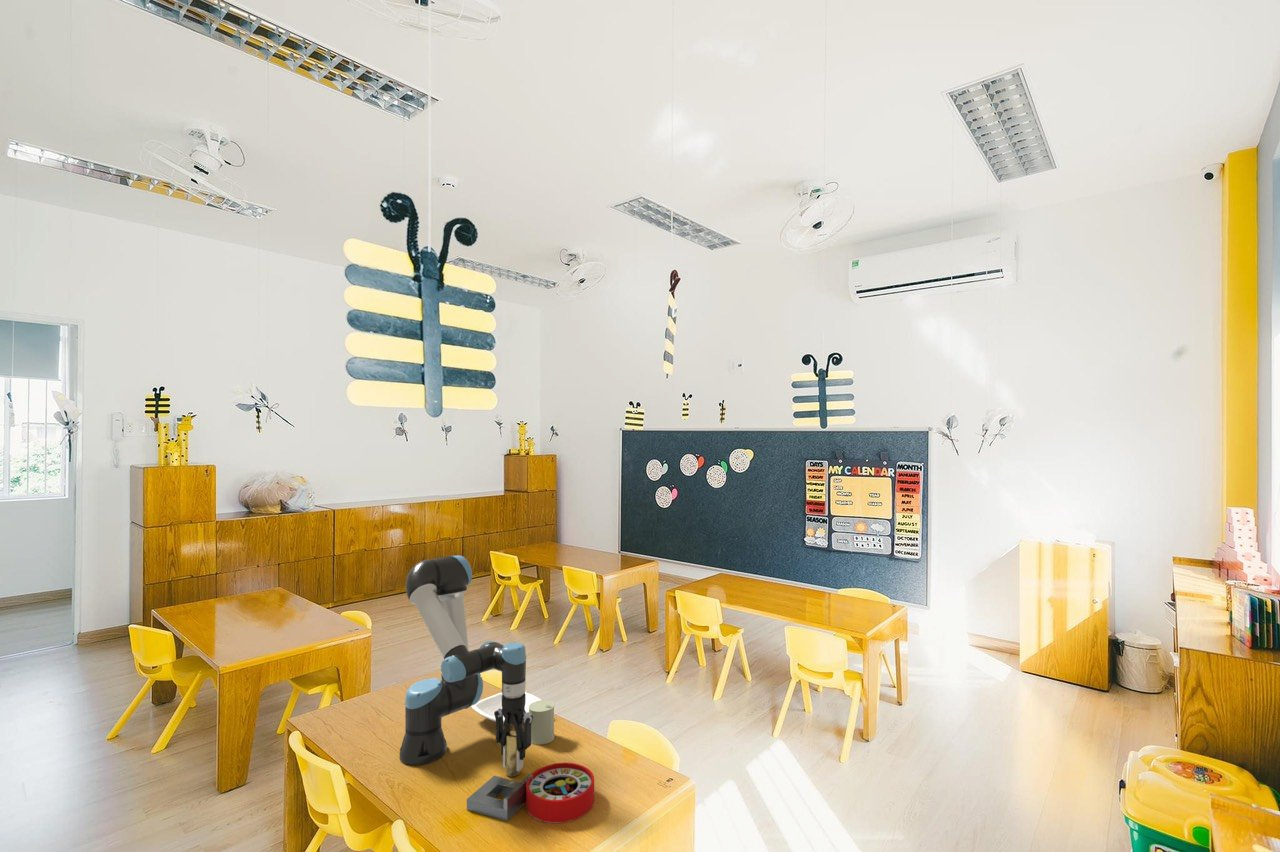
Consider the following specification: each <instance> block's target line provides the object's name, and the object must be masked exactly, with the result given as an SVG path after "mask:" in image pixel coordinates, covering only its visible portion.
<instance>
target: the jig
mask: <svg viewBox="0 0 1280 852" xmlns="http://www.w3.org/2000/svg"><path fill="white" fill-rule="evenodd" d="M531 777H532V780H533V775H531V774H528V775H527V776H526V777H525V778H524V779H523V780H522V781H517V780H513V779H509V778H506V777H501V776H497V775H493V776H492V777H491V778H490V779H488V780H487V781H486V782H485V783H484V784H482V785H481V786H480V787H479V788H478V789H477V790H476V791H474V792H473V793H472V794H471V795H470V796H468V798H466V811H469V812H473V813H477V814H480V815H484V816H487V817H490V818H495V819H496V820H497V819H498V820H500V821H505V822H508V821H509V820H511V818H512V817H513V816H514V815H515V814H516V813H517V812H518V811H519V810H520V809H521V808H522V807H523V806H524V805H526V782H527V780H528V779H530V778H531ZM497 796H502V797H503V799H500V798H496V797H497Z"/></svg>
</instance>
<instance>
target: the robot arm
mask: <svg viewBox="0 0 1280 852" xmlns="http://www.w3.org/2000/svg"><path fill="white" fill-rule="evenodd" d="M472 580H473V571H472V567H471V565H470V562H469V561H468V560H467V559H466V557H464V556H462V555H459V554H458V555H448V556H443V557H437V558H432V559H424V560H421V561H419V562H417V563H416V564H414V566H413V567H412V568H410V570H409V571H408V574H407V576H406V580H405V593H406V596H407V598H408V600H409V603H410V604H412V605H415V607H416V609H417V610H418V612H419V615H420V617H421V619H422V620H423V622H424V624H425V625H426V628H427V629H428V632H429V633H430V635H431V638H432V639H433V642H434V643H435V645H436V648H437V649H438V651H439V653H440V654H441V657H442V659H443V660H442V662H441V664H440V672H441V674H440V675H441V679H439V678H438V677H430V678H424V679H420V680H418V681H416V682H415V683H412V684H411V686H409V687H408V689H407V690H406V694H405V702H404V706H405V715H404V716H405V726H404V727H405V728H404V729H405V731H404V732H405V733H404V736H403V739H402V743H401V745H400V748H399V760H400V761H401V763H403V764H406V765H409V766H421V765H425V764H426V765H427V764H430V763H432V762H436V761H437V760H439V759H441V758H443V756H444V755H445V754H446V753H447V750H448V749H447V747H448V745H447V739H446V738H445V735H444V731H443V729H442V727H443V726H442V722H443V721H442V718H444V717H445V716H449V715H451V714H455V713H456V712H459V711H461V710H462V711H463V710H464V709H465V710H466V709H468V708H471V706H472V705H475V704H476V703H477V702H478V701H480V700H481V698H482V695H483V693H484V692H483V691H484V680H483V677H482V675H481V674H482V673H486V672H488V671H491V670H497V671H498V672H501V692H502V694H503V695H502V709H498V710H497V711H495V712H494V715H495V719H496V722H495V743H497V744H500V749H501V753H500V754H501V756H502V768H504V769H506V734H507V733H509V732H511V729H512V725H513V728H514V729H515V731H516V735H517V741H518V747H519V749H518V750H517V771H520V772H521V770H522V769H523V768H524V760H525V758H526V750H527V749H528V748H530V747H531V746H532V743H531V724H532V720H533V716H532V715H531V716H529V715H527V714H526V711H525V703H526V694H525V692H526V690H527V687H526V685H527V684H526V683H527V682H526V681H527V680H526V674H527V670H526V669H527V665H526V664H527V654H526V653H527V652H526V651H527V650H526V646H525V645H524V644H523V643H521V642H514V641H513V642H508V643H506V644H502V643H499V642H497V641H493V640H487V641H485V642H484V643H483V644H482V645H481V646H480V647H479V648H475V649H473V650H470V649H469V640H468V630H467V622H466V621H467V619H466V610H465V609H466V608H465V601H464V595H465V594H466V593H467V591H468V587H467V586H469V585H470V584H471V582H472ZM526 693H527V692H526ZM503 716H504V718H505V720H504V725H503Z"/></svg>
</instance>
